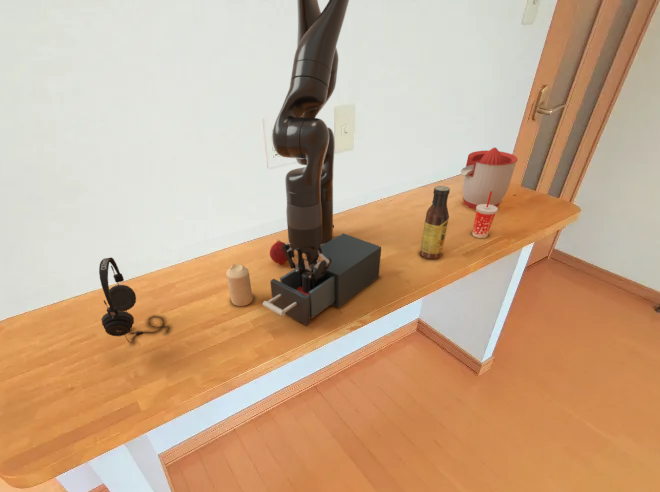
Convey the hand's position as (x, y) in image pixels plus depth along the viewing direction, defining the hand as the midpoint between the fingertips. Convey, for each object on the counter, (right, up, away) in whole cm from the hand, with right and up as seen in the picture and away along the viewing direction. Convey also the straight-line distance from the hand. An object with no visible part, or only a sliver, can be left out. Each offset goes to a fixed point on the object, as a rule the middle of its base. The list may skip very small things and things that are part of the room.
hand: (307, 287), depth 92 cm
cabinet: (+9, +2, +11) cm, 14 cm away
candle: (-17, -3, +7) cm, 18 cm away
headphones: (-38, -12, -3) cm, 40 cm away
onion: (-8, +8, +20) cm, 23 cm away
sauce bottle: (+37, +11, +21) cm, 44 cm away
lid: (0, -1, +1) cm, 2 cm away
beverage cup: (+55, +19, +30) cm, 65 cm away
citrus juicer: (+62, +33, +48) cm, 86 cm away
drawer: (-1, -4, +2) cm, 5 cm away
